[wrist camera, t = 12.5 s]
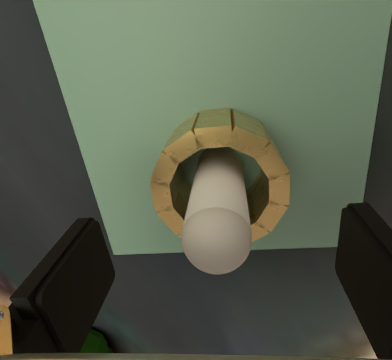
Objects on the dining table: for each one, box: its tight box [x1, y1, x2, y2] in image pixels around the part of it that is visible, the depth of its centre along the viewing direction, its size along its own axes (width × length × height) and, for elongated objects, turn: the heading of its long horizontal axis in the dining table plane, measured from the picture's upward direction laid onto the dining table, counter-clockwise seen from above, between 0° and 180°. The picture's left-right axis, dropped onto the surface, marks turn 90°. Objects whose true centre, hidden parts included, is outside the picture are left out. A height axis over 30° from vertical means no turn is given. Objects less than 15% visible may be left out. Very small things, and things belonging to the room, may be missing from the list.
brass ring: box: [150, 108, 290, 242], centre depth 16 cm, size 7×7×4 cm
